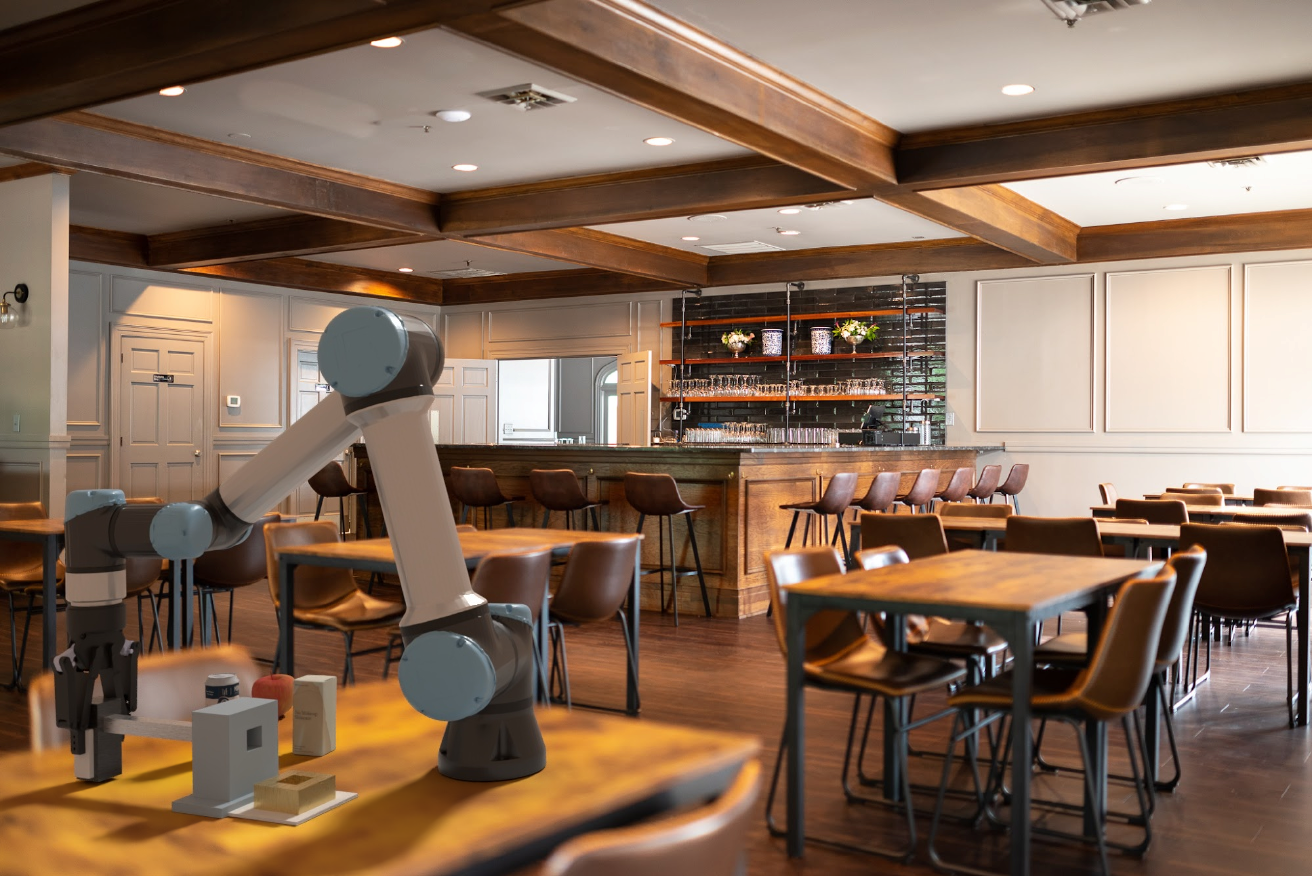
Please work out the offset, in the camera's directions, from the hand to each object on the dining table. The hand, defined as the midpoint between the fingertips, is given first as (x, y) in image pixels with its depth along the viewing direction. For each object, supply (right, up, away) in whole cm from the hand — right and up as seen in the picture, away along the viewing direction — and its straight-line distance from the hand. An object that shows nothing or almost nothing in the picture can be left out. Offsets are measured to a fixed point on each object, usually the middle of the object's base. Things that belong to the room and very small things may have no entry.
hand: (98, 772), depth 159 cm
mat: (+31, -1, -12) cm, 33 cm away
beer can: (+13, -1, +11) cm, 17 cm away
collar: (+31, +1, -13) cm, 34 cm away
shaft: (+9, 0, -4) cm, 10 cm away
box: (+26, -1, +13) cm, 29 cm away
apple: (+12, -1, +36) cm, 38 cm away
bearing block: (+22, -1, -9) cm, 24 cm away
